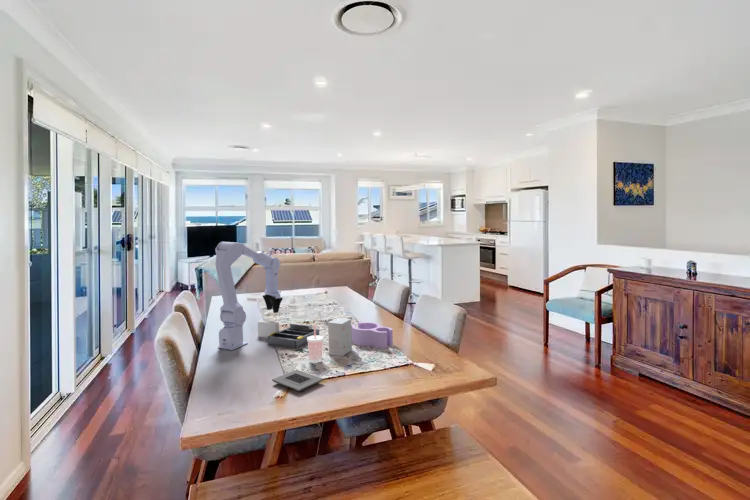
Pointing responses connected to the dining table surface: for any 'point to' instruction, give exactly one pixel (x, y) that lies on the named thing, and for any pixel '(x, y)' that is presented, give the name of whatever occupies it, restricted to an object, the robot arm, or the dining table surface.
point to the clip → (371, 335)
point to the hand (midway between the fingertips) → (272, 311)
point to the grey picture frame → (297, 380)
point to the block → (267, 328)
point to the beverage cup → (315, 347)
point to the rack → (292, 336)
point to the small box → (339, 336)
